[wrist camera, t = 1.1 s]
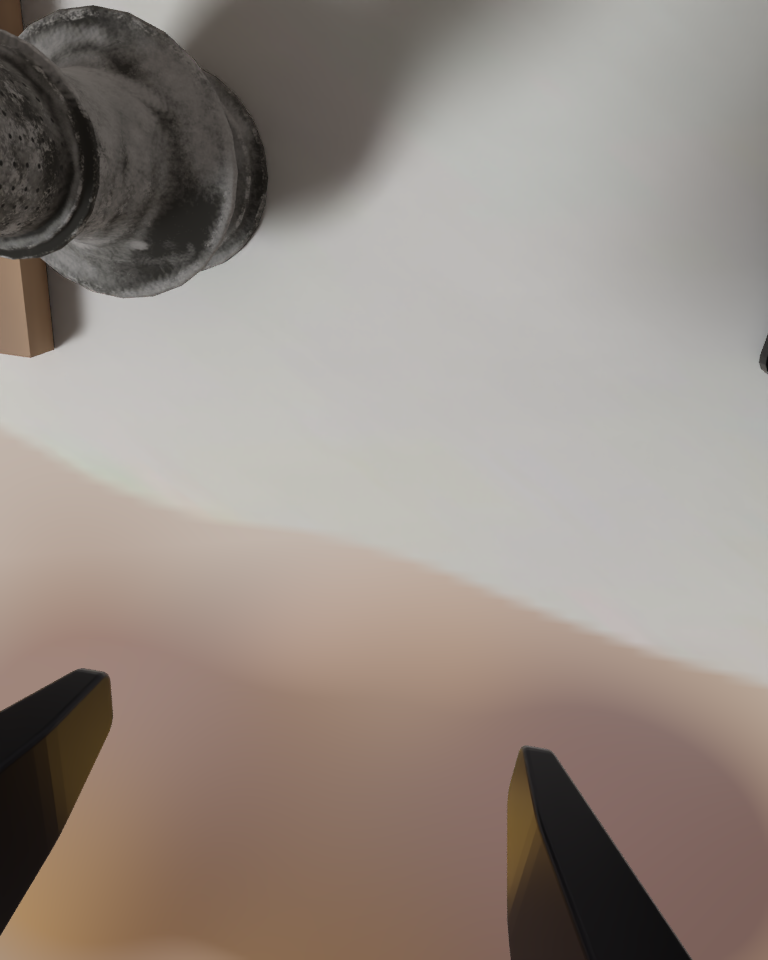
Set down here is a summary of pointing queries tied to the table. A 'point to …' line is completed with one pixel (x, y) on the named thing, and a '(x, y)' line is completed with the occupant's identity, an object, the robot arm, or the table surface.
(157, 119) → the stone baluster finial
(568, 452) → the table surface
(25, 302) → the kerb
